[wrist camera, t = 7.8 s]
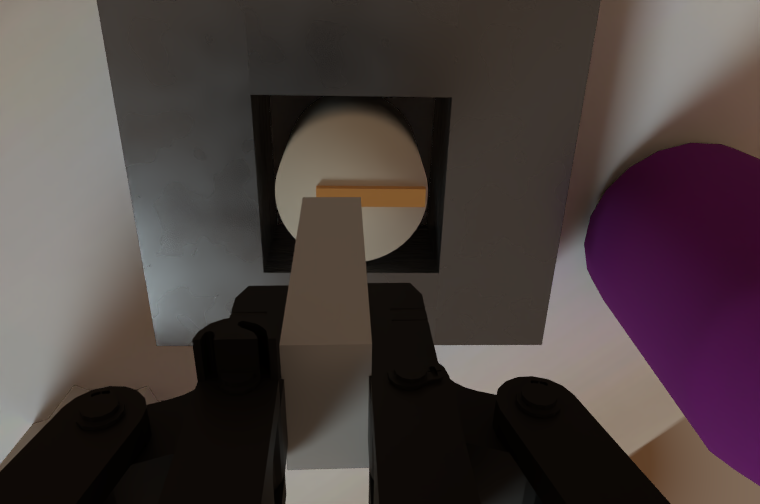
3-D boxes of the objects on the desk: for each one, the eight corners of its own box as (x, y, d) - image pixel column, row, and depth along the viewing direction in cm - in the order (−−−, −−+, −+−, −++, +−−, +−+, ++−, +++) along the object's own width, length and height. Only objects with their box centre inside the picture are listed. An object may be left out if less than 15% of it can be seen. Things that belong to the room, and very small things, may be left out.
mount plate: (184, 289, 25) (156, 346, 22) (78, -456, 16) (-4, -576, 12) (515, 289, 26) (541, 344, 22) (617, -428, 16) (692, -535, 13)
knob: (290, 214, 24) (278, 265, 20) (284, 89, 21) (269, 120, 18) (413, 215, 24) (424, 266, 20) (419, 91, 22) (433, 122, 18)
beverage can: (776, 266, 26) (1071, 491, 15) (601, 330, 27) (762, 581, 16) (750, 102, 23) (1104, 241, 12) (553, 182, 24) (715, 374, 13)
